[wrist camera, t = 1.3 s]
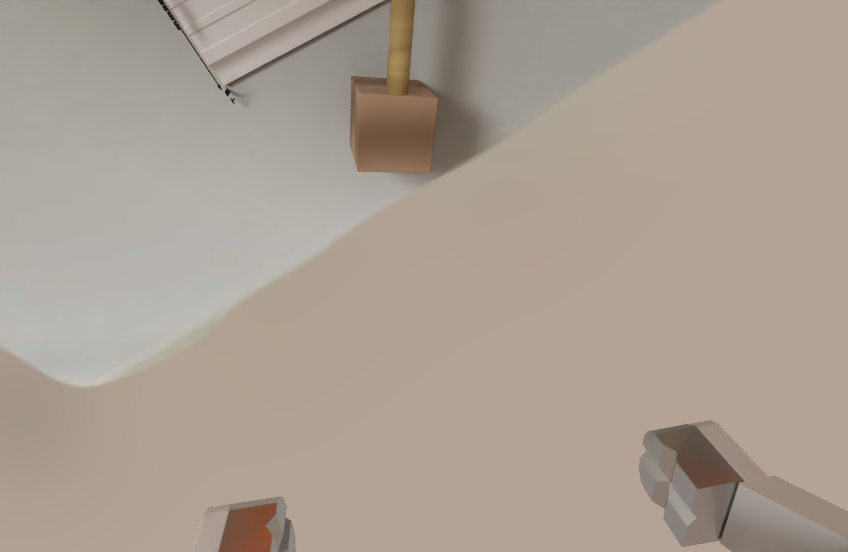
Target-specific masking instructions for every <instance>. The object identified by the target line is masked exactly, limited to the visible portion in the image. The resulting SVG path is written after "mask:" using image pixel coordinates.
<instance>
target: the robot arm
mask: <svg viewBox="0 0 848 552" xmlns="http://www.w3.org/2000/svg"><path fill="white" fill-rule="evenodd" d="M643 445H644V447H645V448H646V449H647V451H646V452H645V453H644V454H643V455H642V456H641V458H640V463H639V472H640V477H641V482H642V484H643V486H644V488H645V490H646V492H647V494H648V495H649V497H650V499H651V500H652V501H653V502H655V503H656V504H658V505H660V506H661V507H663V508H664V520H665V522H666V523H667V525H668V526H669V528H670V529H671V531H672V532H673V534H674V535H675V537H676V538H677V540H678V542H679V543H680V545H681V546H682V547H684V546H690V545H696V544H702V543H708V542H714V541H720V540H721V541H720V543H721V544H722V545H724V546H725V547H726V548H728V549H729V550H730V551H732V552H848V511H846V510H844V509H842V508H840V507H838V506H836V505H833V504H832V503H829V502H827V501H825V500H823V499H821V498H819V497H817V496H815V495H813V494H811V493H809V492H807V491H805V490H803V489H801V488H799V487H796V486H795V485H792V484H790V483H788V482H786V481H784V480H782V479H780V478H778V477H776V476H772V477H768V476H767V475H766V474H765V472H764V471H763V470H762V469H761V468H760V467H759V466H758V465H757V464H756V463H755V462H754V461H753V460H752V459H751V458H750V457H749V456H748V455H747V454H746V453H745V452H744V451H743V449H742V448H740V446H739V445H738V444H737V443H736V442H735V441H734V440H733V439H732V438H731V437H730V436H729V435H728V434H727V433H726V432H725V431H724V430H723V429H722V428H721V427H720V426H719V424H717V423H716V422H714V421H712V420H710V421H704V422H698V423H693V424H689V425H688V424H685V425H680V426H674V427H669V428H664V429H658V430H653V431H648V432H647V433H646V434H645V435H644V439H643ZM286 508H287V507H286V504H285V501H284V499H283V497H275V498H268V499H262V500H255V501H248V502H242V503H236V504H230V505H223V506H217V507H210V508H208V509H207V511H206V512H205V514H204V516H203V518H202V522H201V525H200V528H199V532H198V535H197V538H196V542H195V545H194V548H193V552H295V535H294V529H293V525H292V522H291V520H289V519H287V518H286Z"/></svg>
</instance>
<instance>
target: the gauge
mask: <svg viewBox="0 0 848 552" xmlns="http://www.w3.org/2000/svg"><path fill="white" fill-rule="evenodd" d="M414 9H415V0H391V16H390V35H389V53H388V72H387V79H386V78H371V77H356V76H351V127H350V146H351V150H352V153H353V156H354V160H355V163H356V166H357V170H358V172H406V173H430V171H431V161H432V152H433V143H434V133H435V124H436V115H437V105H438V97H437V96H436V95H434V94H433V93H432V92H431V91H430V90H429V89H428V88H427V87H426V86H424V85H423V84H422V83H421V82H420V81H417V80H409V75H410V61H411V48H412V35H413V22H414Z"/></svg>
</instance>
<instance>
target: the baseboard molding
mask: <svg viewBox="0 0 848 552" xmlns="http://www.w3.org/2000/svg"><path fill="white" fill-rule="evenodd" d="M158 1H159V3H160V4H161V5H163V6H162V7H163V9H164V10H165V11H169V9H168V8H167V6H166V5H165V3H164V2H163V0H158ZM166 1H167V3H168V5H169V6H170V8H171V9H172V10H173V12H174V13H175V15H176V16H177V18H178V19H179V21H180V22H181V24H182V25H183V27H184V29H185V30H186V32H187V33H188V35H189V36H190V37H191V39H192V40H193V42H194V43H195V45H196V46H197V48H198V49H199V51H200V53H201V54H202V56H203V57H204V59H205V61H206V62H207V64H208V65H209V66H210V67H211V68H212V69H213V70H214V71H215V73H216V74H217V75H218V77H219V78H220V80H221V81H222V83H223V84H224V86H225V85H227V84H228V83H230V82H232V81H234V80H236V79H238V78H240V77H242V76H244V75H245V74H247V73H249V72H251V71H253V70H255V69H257V68H259V67H260V66H262V65H264V64H266V63H268V62H270V61H272V60H274V59H275V58H277V57H279V56H281V55H283V54H285V53H287V52H289V51H290V50H292V49H294V48H296V47H298V46H300V45H302V44H304V43H305V42H307V41H309V40H311V39H313V38H315V37H317V36H319V35H320V34H322V33H324V32H326V31H328V30H330V29H332V28H334V27H335V26H337V25H339V24H341V23H343V22H345V21H347V20H349V19H351V18H352V17H354V16H356V15H358V14H360V13H362V12H364V11H366V10H367V9H369V8H371V7H373V6H375V5H377V4H379V3H381V2H382V1H384V0H166ZM167 14H168V15H169V17H170V18H171V20H172V21H173V20H175V18H174V17H173V15H172V14H171V12H170V11H169V12H167ZM170 14H171V15H170ZM172 17H173V18H172ZM173 23H174V24H175V26H176V27H177V29H178V30H180V29H181V27H180V26H179V24H178V23H177V21H176V20H175V21H174V22H173ZM176 23H177V24H176ZM178 26H179V27H180V28H179V27H178ZM181 30H182V29H181ZM182 32H183V30H182ZM183 33H184V32H183ZM184 35H185V33H184ZM185 36H186V35H185ZM186 38H187V36H186ZM187 39H188V38H187ZM188 41H189V39H188ZM189 42H190V41H189ZM190 44H191V42H190ZM191 45H192V44H191ZM192 47H193V45H192ZM193 48H194V47H193ZM194 50H195V48H194ZM195 51H196V50H195ZM196 53H197V51H196ZM197 54H198V53H197ZM198 56H199V54H198ZM199 57H200V56H199ZM200 59H201V57H200ZM201 60H202V59H201ZM202 62H203V60H202ZM203 63H204V62H203ZM204 65H205V63H204ZM205 66H206V65H205ZM206 68H207V66H206ZM207 69H208V68H207ZM208 71H209V69H208ZM209 72H210V71H209ZM210 74H211V72H210ZM211 75H212V74H211ZM212 77H213V75H212ZM213 78H214V77H213ZM214 80H215V78H214ZM215 81H216V80H215ZM216 83H217V81H216ZM217 84H218V83H217ZM218 87H219V88H220V89H221V87H220V84H218ZM226 88H227V87H226ZM221 90H222V89H221ZM225 93H226V95H227V96H228V95H229V94H230V92H229V90H228V89H226V91H225ZM231 100H232V99H231ZM233 100H234V98H233ZM233 100H232V102H233ZM233 103H234V102H233ZM234 104H235V103H234Z"/></svg>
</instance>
